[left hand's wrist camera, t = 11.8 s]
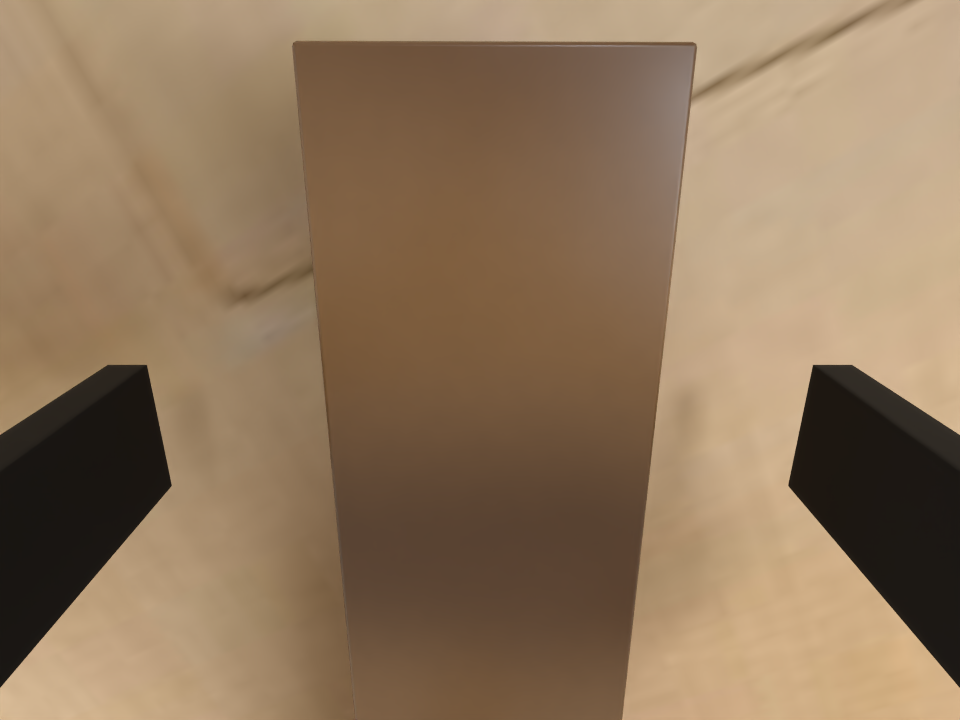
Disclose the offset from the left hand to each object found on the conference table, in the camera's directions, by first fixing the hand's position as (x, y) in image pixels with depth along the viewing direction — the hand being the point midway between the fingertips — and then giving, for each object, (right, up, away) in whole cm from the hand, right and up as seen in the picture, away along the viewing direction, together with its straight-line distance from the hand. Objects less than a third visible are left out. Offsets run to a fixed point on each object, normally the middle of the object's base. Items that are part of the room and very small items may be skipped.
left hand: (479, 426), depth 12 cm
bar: (0, -18, +12) cm, 21 cm away
